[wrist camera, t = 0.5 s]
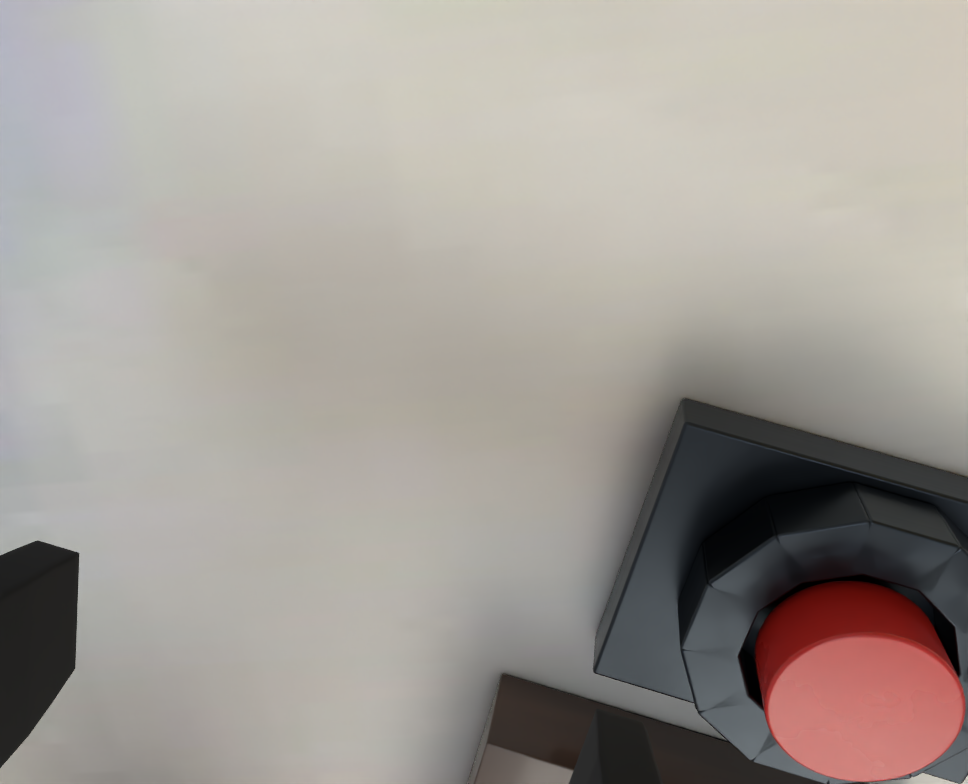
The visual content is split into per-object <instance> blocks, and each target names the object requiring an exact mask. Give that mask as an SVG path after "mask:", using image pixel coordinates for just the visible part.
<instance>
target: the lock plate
mask: <svg viewBox="0 0 968 784" xmlns="http://www.w3.org/2000/svg"><path fill="white" fill-rule="evenodd" d="M596 709H600V710H604V711H607V712H610V713H614V714H617V715H620V716H624V717H627V718H630V719H634V720H637V721H640V722H643V724H644V726H645V727H646V729H647V731H648V734H649V738H650V741H651V745H652V748H653V752H654V755H655V759H656V762H657V765H658V769H659V772H660V775H661V778H662V781H663V784H823V783H820V782H816V781H813V780H810V779H806V778H803V777H800V776H797V775H793V774H790V773H787V772H784V771H780V770H777V769H774V768H771V767H767V766H764V765H761V764H757V763H754V762H752V760H748V759H747V758H746V757H745V756H744V755H743V754H742V753H741V752H740V751H739V750H737V749H736V748H735V747H734V746H733V745H732V744H731V743H728V742H725V741H721V740H718V739H715V738H711V737H708V736H705V735H702V734H698V733H695V732H692V731H689V730H685V729H682V728H679V727H675V726H672V725H669V724H666V723H662V722H659V721H656V720H652V719H649V718H646V717H643V716H639V715H636V714H633V713H630V712H626V711H623V710H620V709H616V708H613V707H610V706H607V705H603V704H600V703H597V702H593V701H590V700H587V699H584V698H580V697H577V696H574V695H571V694H567V693H564V692H561V691H557V690H554V689H551V688H548V687H544V686H541V685H538V684H535V683H531V682H528V681H525V680H521V679H518V678H515V677H512V676H508V675H505V674H502V675H501V677H500V680H499V683H498V686H497V690H496V693H495V696H494V699H493V702H492V706H491V709H490V712H489V715H488V719H487V722H486V725H485V728H484V731H483V735H482V738H481V741H480V744H479V747H478V751H477V754H476V757H475V760H474V764H473V767H472V770H471V773H470V776H469V780H468V783H467V784H569V782H570V779H571V776H572V773H573V771H574V768H575V765H576V763H577V760H578V757H579V755H580V752H581V749H582V746H583V744H584V741H585V738H586V736H587V733H588V730H589V727H590V725H591V722H592V719H593V717H594V714H595V711H596ZM848 784H862V783H848Z"/></svg>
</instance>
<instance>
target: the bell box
mask: <svg viewBox="0 0 968 784" xmlns="http://www.w3.org/2000/svg"><path fill="white" fill-rule="evenodd" d="M832 581H862V582H869V583H873V584H878V585H881V586H884V587H887V588H890V589H892V590H894V591H896V592H898V593H900V594H902V595H904V596H905V597H907V598H908V599H910V600H911V601H913V602H914V603H915V604H916V605H917V606H918V607H919V608H921V610H922V611H923V612H924V613H925V614H926V615H927V617H928V618H929V620H930V621H931V623H932V625H933V627H934V629H935V631H936V633H937V635H938V637H939V639H940V641H941V643H942V645H943V647H944V649H945V651H946V653H947V655H948V657H949V659H950V661H951V663H952V665H953V667H954V669H955V671H956V674H957V676H958V678H959V680H960V682H961V685H962V687H963V690H964V695H965V704H966V709H965V717H964V722H963V725H962V728H961V730H960V732H959V734H958V736H957V738H956V740H955V741H954V742H953V744H952V745H951V746H950V748H949V749H948V750H947V751H946V752H945V753H944V754H943V755H942V756H940V757H939V758H938V759H937V760H935V761H934V762H933V763H931V764H929V765H928V766H926V767H924V768H922V769H920V770H918V771H916V772H914V773H911V774H908V775H905V776H902V777H899V778H895V779H890V780H897V779H909V778H911V776H913V777H914V776H917V775H919V774H921V773H926V774H929V775H932V776H935V777H939V778H942V779H945V780H949V781H952V782H955V783H959V784H961V783H963V781H964V780H965V778H966V777H967V775H968V478H967V477H963V476H960V475H956V474H953V473H949V472H945V471H942V470H938V469H935V468H931V467H928V466H924V465H920V464H917V463H913V462H910V461H906V460H903V459H899V458H896V457H892V456H888V455H885V454H881V453H878V452H874V451H871V450H867V449H863V448H860V447H856V446H853V445H849V444H846V443H842V442H838V441H835V440H831V439H828V438H824V437H821V436H817V435H814V434H810V433H806V432H803V431H799V430H796V429H792V428H789V427H785V426H781V425H778V424H774V423H771V422H767V421H764V420H760V419H757V418H753V417H749V416H746V415H742V414H739V413H735V412H732V411H728V410H724V409H721V408H717V407H714V406H710V405H707V404H703V403H699V402H696V401H692V400H689V399H682V400H681V402H680V405H679V407H678V410H677V413H676V416H675V419H674V421H673V424H672V427H671V430H670V432H669V435H668V438H667V441H666V443H665V446H664V449H663V452H662V454H661V457H660V460H659V463H658V465H657V468H656V471H655V474H654V477H653V479H652V482H651V485H650V488H649V490H648V493H647V496H646V499H645V501H644V504H643V507H642V510H641V512H640V515H639V518H638V521H637V523H636V526H635V529H634V532H633V535H632V537H631V540H630V543H629V546H628V548H627V551H626V554H625V557H624V559H623V562H622V565H621V568H620V570H619V573H618V576H617V579H616V581H615V584H614V587H613V590H612V592H611V595H610V598H609V601H608V604H607V606H606V609H605V612H604V615H603V617H602V620H601V623H600V626H599V628H598V631H597V634H596V637H595V650H594V663H593V671H594V673H596V674H599V675H602V676H605V677H609V678H612V679H615V680H619V681H622V682H625V683H629V684H632V685H635V686H638V687H642V688H645V689H648V690H652V691H655V692H658V693H662V694H665V695H668V696H671V697H675V698H678V699H681V700H685V701H688V702H691V703H694V704H695V708H696V709H697V711H698V714H699V715H700V716H701V717H702V718H704V719H705V720H706V721H707V722H708V723H709V724H710V725H711V726H712V727H713V728H714V729H716V730H717V731H718V732H719V733H720V734H721V735H722V736H723V737H724V738H725V739H727V740H728V741H729V742H730V743H731V744H732V745H733V746H734V747H735V748H736V749H737V750H739V751H740V752H741V753H742V754H743V755H744V756H745V757H746V758H747V759H748V760H752V762H754V763H757V764H761V765H764V766H767V767H771V768H774V769H777V770H780V771H784V772H787V773H790V774H793V775H797V776H800V777H803V778H806V779H810V780H813V781H816V782H820V783H823V784H848V783H860V782H856V781H846V780H840V779H835V778H831V777H827V776H825V775H822V774H819V773H816V772H814V771H812V770H810V769H808V768H806V767H804V766H803V765H801V764H799V763H798V762H796V761H795V760H794V759H793V758H791V757H790V756H789V755H788V754H787V753H786V752H785V751H784V750H783V749H782V748H781V747H780V746H779V745H778V743H777V742H776V740H775V739H774V738H773V736H772V734H771V732H770V730H769V728H768V725H767V722H766V718H765V713H764V707H763V702H762V696H761V690H760V685H759V679H758V674H757V668H756V662H755V644H756V638H757V635H758V633H759V630H760V628H761V626H762V624H763V623H764V621H765V619H766V618H767V616H768V615H769V614H770V613H771V611H772V610H773V609H774V608H775V607H776V606H777V605H778V604H780V603H781V602H782V601H784V600H785V599H786V598H788V597H789V596H791V595H793V594H795V593H796V592H798V591H801V590H803V589H805V588H808V587H811V586H814V585H817V584H821V583H826V582H832Z"/></svg>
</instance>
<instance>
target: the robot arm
mask: <svg viewBox="0 0 968 784" xmlns="http://www.w3.org/2000/svg"><path fill="white" fill-rule="evenodd" d="M78 573H79V553H77V552H74V551H71V550H67V549H64V548H61V547H57V546H54V545H51V544H47V543H44V542H41V541H35V542H32V543H30V544H27V545H25V546H22V547H20V548H17V549H15V550H12V551H10V552H7V553H5V554H3V555H0V768H1V767H2V765H3V764H4V763H5V762H6V761H7V760H8V759H9V757H10V756H11V755H12V754H13V753H14V752H15V751H16V749H17V748H18V747H19V746H20V745H21V744H22V742H23V741H24V740H25V739H26V738H27V737H28V735H29V734H30V733H31V731H32V730H33V729H34V727H35V726H36V724H37V723H38V722H39V720H40V719H41V717H42V716H43V715H44V713H45V712H46V710H47V709H48V708H49V706H50V705H51V703H52V702H53V700H54V699H55V698H56V696H57V695H58V693H59V692H60V690H61V689H62V687H63V686H64V684H65V683H66V681H67V680H68V678H69V677H70V675H71V674H72V672H73V671H74V669H75V658H76V630H77V601H78ZM569 784H663V781H662V778H661V775H660V772H659V769H658V765H657V762H656V759H655V755H654V752H653V748H652V745H651V741H650V738H649V734H648V731H647V729H646V727H645V726H644V724H643V722H640V721H637V720H634V719H630V718H627V717H624V716H620V715H617V714H614V713H610V712H607V711H604V710H600V709H596V711H595V714H594V717H593V719H592V722H591V725H590V727H589V730H588V733H587V736H586V738H585V741H584V744H583V746H582V749H581V752H580V755H579V757H578V760H577V763H576V765H575V768H574V771H573V773H572V776H571V779H570V782H569Z"/></svg>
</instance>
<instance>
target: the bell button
mask: <svg viewBox="0 0 968 784" xmlns="http://www.w3.org/2000/svg"><path fill="white" fill-rule="evenodd" d="M755 662H756V668H757V674H758V679H759V685H760V690H761V696H762V702H763V707H764V713H765V718H766V722H767V725H768V728H769V730H770V732H771V734H772V736H773V738H774V739H775V740H776V742H777V743H778V745H779V746H780V747H781V748H782V749H783V750H784V751H785V752H786V753H787V754H788V755H789V756H790V757H791V758H793V759H794V760H795V761H796V762H798V763H799V764H801V765H803V766H804V767H806V768H808V769H810V770H812V771H814V772H816V773H819V774H822V775H825V776H827V777H831V778H835V779H840V780H846V781H856V782H876V781H884V780H890V779H895V778H899V777H902V776H905V775H908V774H911V773H914V772H916V771H918V770H920V769H922V768H924V767H926V766H928V765H929V764H931V763H933V762H934V761H935V760H937V759H938V758H939V757H940V756H942V755H943V754H944V753H945V752H946V751H947V750H948V749H949V748H950V746H951V745H952V744H953V742H954V741H955V740H956V738H957V736H958V734H959V732H960V730H961V728H962V725H963V722H964V717H965V709H966V704H965V695H964V690H963V687H962V685H961V682H960V680H959V678H958V676H957V674H956V671H955V669H954V667H953V665H952V663H951V661H950V659H949V657H948V655H947V653H946V651H945V649H944V647H943V645H942V643H941V641H940V639H939V637H938V635H937V633H936V631H935V629H934V627H933V625H932V623H931V621H930V620H929V618H928V617H927V615H926V614H925V613H924V612H923V611H922V610H921V608H919V607H918V606H917V605H916V604H915V603H914V602H913V601H911V600H910V599H908V598H907V597H905V596H904V595H902V594H900V593H898V592H896V591H894V590H892V589H890V588H887V587H884V586H881V585H878V584H873V583H869V582H862V581H832V582H826V583H821V584H817V585H814V586H811V587H808V588H805V589H803V590H801V591H798V592H796V593H795V594H793V595H791V596H789V597H788V598H786V599H785V600H784V601H782V602H781V603H780V604H778V605H777V606H776V607H775V608H774V609H773V610H772V611H771V613H770V614H769V615H768V616H767V618H766V619H765V621H764V623H763V624H762V626H761V628H760V630H759V633H758V635H757V638H756V644H755Z"/></svg>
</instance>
